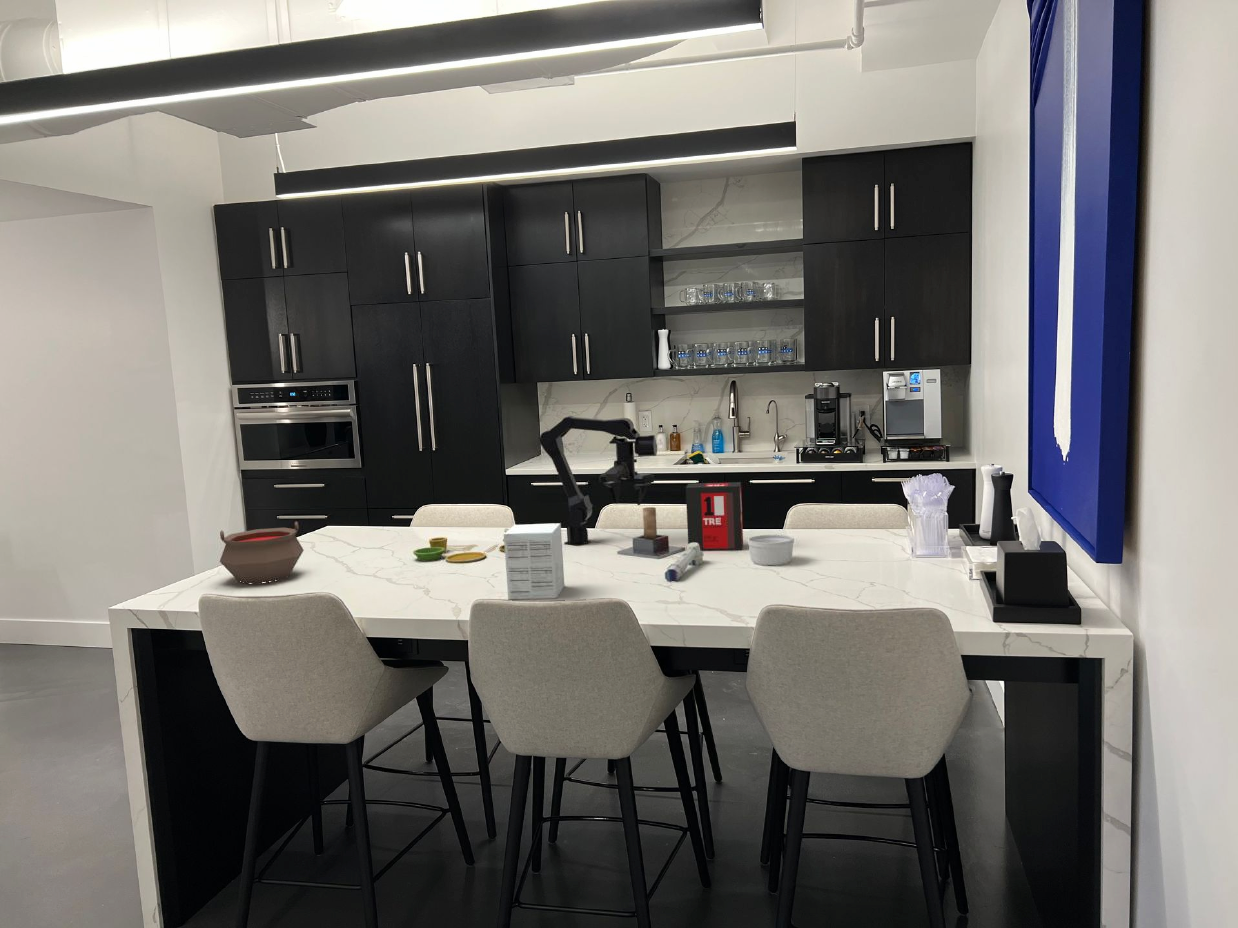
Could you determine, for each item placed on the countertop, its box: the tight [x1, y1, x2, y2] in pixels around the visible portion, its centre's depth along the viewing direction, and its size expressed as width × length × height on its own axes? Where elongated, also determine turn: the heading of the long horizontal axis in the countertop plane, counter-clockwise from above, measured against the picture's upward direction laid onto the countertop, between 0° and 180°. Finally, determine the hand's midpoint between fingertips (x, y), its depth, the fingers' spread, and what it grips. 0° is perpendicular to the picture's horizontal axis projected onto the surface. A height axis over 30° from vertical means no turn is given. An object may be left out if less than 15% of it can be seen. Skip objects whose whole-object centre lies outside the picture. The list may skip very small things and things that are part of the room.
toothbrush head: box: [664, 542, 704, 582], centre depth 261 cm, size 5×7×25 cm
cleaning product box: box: [685, 481, 744, 552], centre depth 288 cm, size 16×9×20 cm, turn 80°
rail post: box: [642, 506, 658, 539], centre depth 287 cm, size 4×4×13 cm
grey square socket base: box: [616, 534, 686, 560], centre depth 288 cm, size 16×14×5 cm
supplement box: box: [503, 522, 566, 600], centre depth 244 cm, size 13×13×18 cm
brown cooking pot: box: [219, 521, 305, 584], centre depth 279 cm, size 24×24×16 cm
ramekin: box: [747, 533, 795, 566], centre depth 266 cm, size 13×13×7 cm
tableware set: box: [412, 527, 510, 564], centre depth 299 cm, size 41×28×6 cm
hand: (627, 504), depth 302 cm, fingers open, 9 cm apart
